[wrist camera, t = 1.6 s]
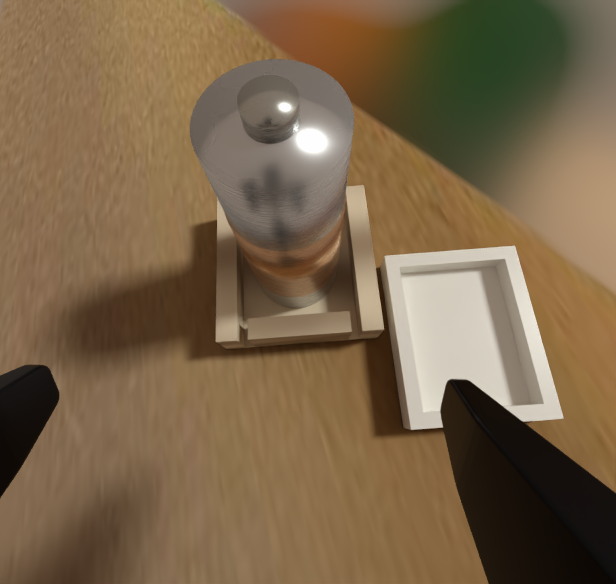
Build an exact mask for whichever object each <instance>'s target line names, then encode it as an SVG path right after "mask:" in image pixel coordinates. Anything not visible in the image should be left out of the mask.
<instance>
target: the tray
mask: <svg viewBox="0 0 616 584" xmlns="http://www.w3.org/2000/svg"><path fill="white" fill-rule="evenodd" d="M380 271H381V278H382V285H383V292H384V299H385V306H386V312H387V319H388V326H389V333H390V340H391V347H392V354H393V361H394V367H395V374H396V381H397V388H398V395H399V402H400V409H401V416H402V422H403V428H406V429H410V430H416V429H429V428H443V425H442V420H441V414H440V409H441V403H442V399H443V395H444V390H445V386H446V383H447V381H448V380H449V379H466V380H469V381H471V382H472V383H473V384H475V385H476V386H477V387H479V388H480V389H481V390H482V391H484V392H485V393H486V394H488V395H489V396H490V397H492V398H493V399H494V400H495V401H497V402H498V403H499V404H501V405H502V406H503V407H504V408H506V409H507V410H508V411H510V412H511V413H512V414H514V415H515V416H516V417H517V418H519V419H520V420H521V421H523V422H525V421H539V420H552V419H564V418H563V414H562V411H561V407H560V404H559V400H558V397H557V393H556V390H555V386H554V382H553V379H552V375H551V372H550V368H549V365H548V361H547V358H546V354H545V351H544V347H543V344H542V340H541V336H540V333H539V329H538V326H537V322H536V319H535V315H534V312H533V308H532V305H531V301H530V298H529V294H528V290H527V287H526V283H525V280H524V276H523V273H522V269H521V266H520V262H519V259H518V255H517V252H516V248H515V246H506V247H493V248H480V249H468V250H455V251H442V252H429V253H416V254H403V255H390V256H384V259H383V261H382V263H381V266H380Z"/></svg>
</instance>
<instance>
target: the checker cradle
mask: <svg viewBox="0 0 616 584" xmlns="http://www.w3.org/2000/svg"><path fill="white" fill-rule="evenodd" d="M383 330H384V324H383V317H382V310H381V303H380V296H379V289H378V282H377V275H376V268H375V261H374V253H373V246H372V239H371V232H370V225H369V218H368V211H367V204H366V197H365V190H364V185H360V186H347V187H346V204H345V212H344V220H343V228H342V236H341V244H340V252H339V260H338V265H337V269H336V277H335V281H334V284H333V286H332V288H331V290H330V291H329V293H328V294H327V295H326V296H325V297H324V298H323V299H322V300H320V301H319V302H317V303H316V304H314V305H311V306H308V307H305V308H288V307H284V306H281V305H279V304H277V303H275V302H274V301H272V300H271V299H270V298H269V297H268V296H267V295H266V294H265V293H264V291H263V289H262V288H261V286H260V284H259V282H258V280H257V279H256V277H255V275H254V273H253V271H252V269H251V267H250V265H249V263H248V261H247V259H246V257H245V255H244V253H243V251H242V249H241V247H240V245H239V243H238V241H237V239H236V237H235V235H234V233H233V231H232V229H231V227H230V225H229V223H228V221H227V219H226V216H225V213H224V210H223V208H222V206H221V204H220V202H219V200H218V201H217V277H216V343H218V344H219V345H221V346H223V347H224V348H226V349H236V348H249V347H262V346H276V345H289V344H302V343H315V342H329V341H342V340H355V339H368V338H377V337H378V336H379V335H380V334H381V333H382V331H383Z"/></svg>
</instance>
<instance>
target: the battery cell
mask: <svg viewBox="0 0 616 584" xmlns="http://www.w3.org/2000/svg"><path fill="white" fill-rule="evenodd" d="M353 127H354V113H353V109H352V105H351V102H350V100H349V97H348V96H347V94H346V92H345V91H344V89H343V88H342V87H341V86H340V84H339V83H338V82H337V81H336V80H335V79H333V78H332V77H331V76H330V75H328V74H327V73H325V72H324V71H322V70H320V69H318V68H316V67H314V66H311V65H309V64H306V63H302V62H299V61H293V60H284V59H269V60H261V61H256V62H252V63H248V64H245V65H242V66H239V67H237V68H235V69H232V70H230V71H229V72H227V73H225V74H223V75H222V76H220V77H219V78H218V79H216V80H215V81H214V82H213V83H212V84H211V85H210V86H209V87H208V88H207V89H206V90H205V91H204V92H203V93H202V95H201V96H200V98H199V99H198V101H197V103H196V105H195V107H194V109H193V113H192V116H191V121H190V137H191V142H192V146H193V148H194V151H195V153H196V155H197V157H198V159H199V161H200V163H201V165H202V167H203V169H204V171H205V173H206V176H207V178H208V180H209V182H210V184H211V186H212V188H213V190H214V192H215V194H216V196H217V198H218V200H219V202H220V204H221V206H222V208H223V210H224V213H225V216H226V219H227V221H228V223H229V225H230V227H231V229H232V231H233V233H234V235H235V237H236V239H237V241H238V243H239V245H240V247H241V249H242V251H243V253H244V255H245V257H246V259H247V261H248V263H249V265H250V267H251V269H252V271H253V273H254V275H255V277H256V279H257V280H258V282H259V284H260V286H261V288H262V289H263V291H264V293H265V294H266V295H267V296H268V297H269V298H270V299H271V300H272V301H274V302H275V303H277V304H279V305H281V306H284V307H288V308H305V307H308V306H311V305H314V304H316V303H317V302H319V301H320V300H322V299H323V298H324V297H325V296H326V295H327V294H328V293H329V291H330V290H331V288H332V286H333V284H334V281H335V277H336V269H337V265H338V260H339V252H340V244H341V236H342V228H343V220H344V212H345V204H346V186H347V177H348V169H349V161H350V152H351V144H352V136H353Z"/></svg>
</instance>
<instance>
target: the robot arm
mask: <svg viewBox="0 0 616 584" xmlns="http://www.w3.org/2000/svg"><path fill="white" fill-rule="evenodd" d="M58 401H59V390H58V388H57V386H56V383H55V381H54V378H53V376H52V374H51V371H50V369H49V368H48V367H47V366H44V365H24V366H22V367H19V368H17V369H15V370H12V371H10V372H8V373H5V374H3V375H1V376H0V498H1V496H2V495H3V493H4V492H5V490H6V489H7V488H8V486H9V485H10V483H11V482H12V480H13V479H14V477H15V476H16V474H17V473H18V471H19V470H20V468H21V467H22V465H23V463H24V462H25V460H26V458H27V457H28V455H29V453H30V451H31V449H32V448H33V446H34V444H35V442H36V441H37V439H38V437H39V435H40V434H41V432H42V430H43V428H44V427H45V425H46V423H47V421H48V419H49V418H50V416H51V414H52V412H53V411H54V409H55V407H56V405H57V403H58ZM440 414H441V420H442V425H443V429H444V434H445V438H446V443H447V447H448V452H449V456H450V461H451V465H452V470H453V474H454V479H455V483H456V487H457V490H458V493H459V496H460V500H461V503H462V506H463V509H464V512H465V515H466V518H467V521H468V524H469V526H470V529H471V532H472V535H473V538H474V541H475V544H476V547H477V550H478V553H479V556H480V559H481V562H482V565H483V568H484V571H485V574H486V577H487V580H488V583H489V584H616V493H615V492H614V491H612V490H611V489H610V488H608V487H607V486H606V485H604V484H603V483H602V482H601V481H599V480H598V479H597V478H595V477H594V476H593V475H591V474H590V473H589V472H588V471H586V470H585V469H584V468H582V467H581V466H580V465H578V464H577V463H576V462H575V461H573V460H572V459H571V458H569V457H568V456H567V455H565V454H564V453H563V452H562V451H560V450H559V449H558V448H556V447H555V446H554V445H553V444H551V443H550V442H549V441H547V440H546V439H545V438H543V437H542V436H541V435H540V434H538V433H537V432H536V431H534V430H533V429H532V428H530V427H529V426H528V425H527V424H525V423H524V422H523V421H521V420H520V419H519V418H517V417H516V416H515V415H514V414H512V413H511V412H510V411H508V410H507V409H506V408H504V407H503V406H502V405H501V404H499V403H498V402H497V401H495V400H494V399H493V398H492V397H490V396H489V395H488V394H486V393H485V392H484V391H482V390H481V389H480V388H479V387H477V386H476V385H475V384H473V383H472V382H471V381H469V380H466V379H449V380H448V381H447V383H446V386H445V390H444V395H443V399H442V403H441V409H440Z"/></svg>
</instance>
